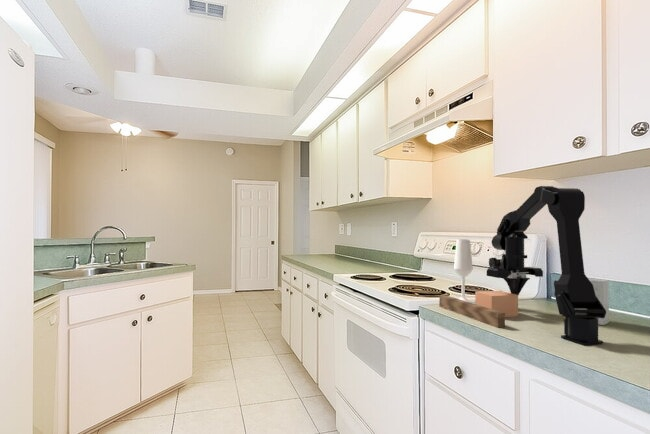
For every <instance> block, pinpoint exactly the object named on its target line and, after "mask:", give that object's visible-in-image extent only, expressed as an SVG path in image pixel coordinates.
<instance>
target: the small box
mask: <svg viewBox="0 0 650 434" xmlns="http://www.w3.org/2000/svg"><path fill="white" fill-rule="evenodd" d="M587 278H588V279H589V280H590V282H591V283H592V284H593V287H594V291H595V295H596V297H597V298H598V300H599V301H600V302H601V304H602V305H603V307H604V308H605V310H606V315H605V318H598V326H600V325H601V326H604V325H607V324H608V323H609V322H610V302H609V301H610V297H609V293H610V292H609V291H610V290H609V280H608V279H601V278H600V279H599V278H589V277H587Z"/></svg>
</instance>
